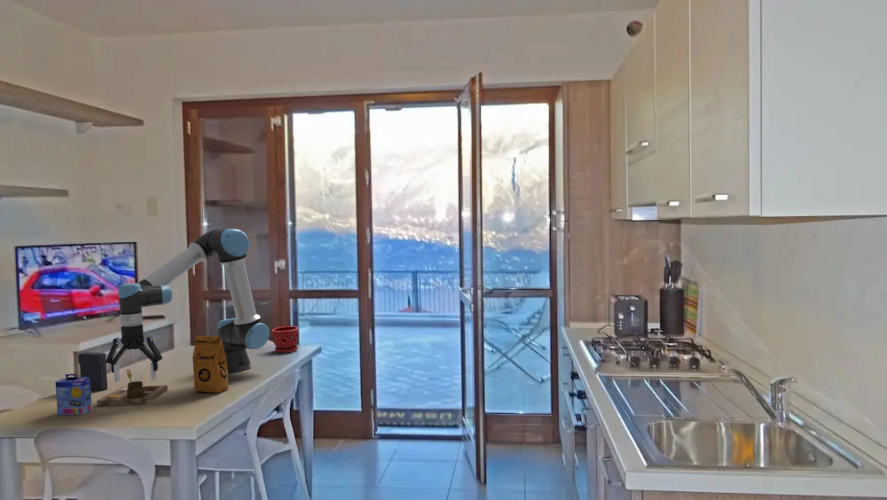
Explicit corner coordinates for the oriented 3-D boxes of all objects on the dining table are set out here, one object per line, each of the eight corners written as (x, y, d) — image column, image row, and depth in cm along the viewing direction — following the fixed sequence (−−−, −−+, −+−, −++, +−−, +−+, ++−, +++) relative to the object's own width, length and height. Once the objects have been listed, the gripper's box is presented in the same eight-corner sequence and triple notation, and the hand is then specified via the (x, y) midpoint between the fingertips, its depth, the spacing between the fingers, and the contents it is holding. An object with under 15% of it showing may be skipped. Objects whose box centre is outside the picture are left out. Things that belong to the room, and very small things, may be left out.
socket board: (167, 390, 262) (167, 384, 262) (146, 404, 242) (146, 397, 242) (122, 391, 262) (122, 386, 262) (97, 406, 242) (96, 399, 242)
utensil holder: (135, 403, 243) (134, 371, 243) (123, 402, 245) (121, 370, 245) (148, 399, 249) (146, 368, 248) (135, 398, 251) (134, 367, 250)
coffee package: (217, 395, 252) (215, 338, 251) (190, 393, 256) (187, 337, 255) (233, 388, 262) (230, 333, 261) (206, 387, 265) (203, 333, 264)
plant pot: (274, 349, 341) (273, 326, 340) (300, 348, 342) (299, 325, 341) (271, 354, 328) (270, 330, 327) (297, 353, 329) (296, 329, 328)
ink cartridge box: (56, 416, 230) (53, 375, 230) (64, 411, 236) (61, 371, 235) (85, 414, 231) (83, 373, 231) (92, 409, 237) (90, 370, 236)
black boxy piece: (109, 388, 268) (107, 352, 267) (100, 391, 263) (98, 354, 263) (88, 387, 271) (86, 351, 270) (79, 390, 267) (77, 353, 266)
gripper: (93, 327, 242) (97, 384, 243) (161, 324, 242) (164, 381, 243) (103, 324, 249) (107, 379, 250) (169, 321, 250) (172, 376, 251)
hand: (135, 380), depth 247 cm, fingers open, 13 cm apart
